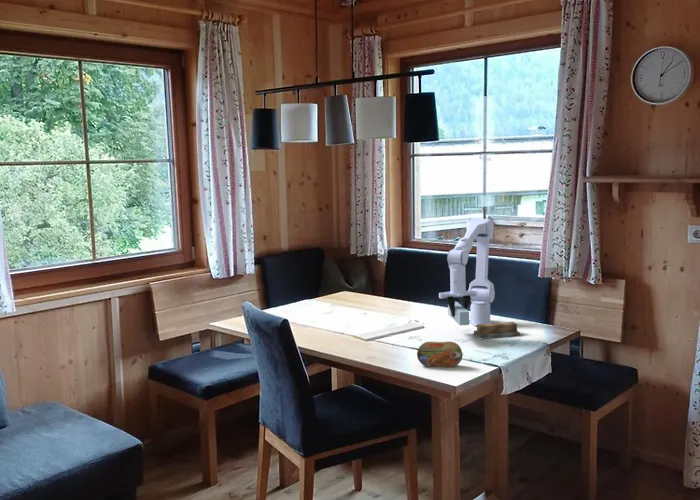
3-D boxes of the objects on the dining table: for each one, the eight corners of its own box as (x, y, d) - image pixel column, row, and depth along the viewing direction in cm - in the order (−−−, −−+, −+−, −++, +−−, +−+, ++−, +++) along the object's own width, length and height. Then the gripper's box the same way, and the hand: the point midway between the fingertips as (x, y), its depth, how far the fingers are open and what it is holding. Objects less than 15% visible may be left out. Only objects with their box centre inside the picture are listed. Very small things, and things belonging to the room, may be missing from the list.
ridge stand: (480, 338, 259) (480, 328, 258) (473, 333, 267) (473, 323, 266) (520, 335, 261) (520, 325, 260) (512, 330, 269) (512, 320, 268)
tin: (417, 366, 228) (416, 342, 227) (417, 363, 231) (417, 339, 230) (462, 367, 225) (462, 343, 224) (462, 364, 228) (462, 340, 227)
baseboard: (350, 337, 269) (365, 342, 261) (350, 330, 268) (365, 335, 260) (408, 324, 286) (424, 329, 278) (408, 318, 286) (423, 322, 278)
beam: (448, 314, 268) (448, 302, 268) (456, 313, 269) (456, 301, 268) (459, 325, 251) (459, 312, 250) (469, 324, 251) (469, 311, 250)
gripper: (442, 283, 253) (442, 319, 255) (479, 281, 255) (479, 316, 257) (437, 280, 260) (437, 315, 261) (473, 278, 262) (473, 312, 263)
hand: (458, 315), depth 259 cm, fingers closed on beam, 4 cm apart
